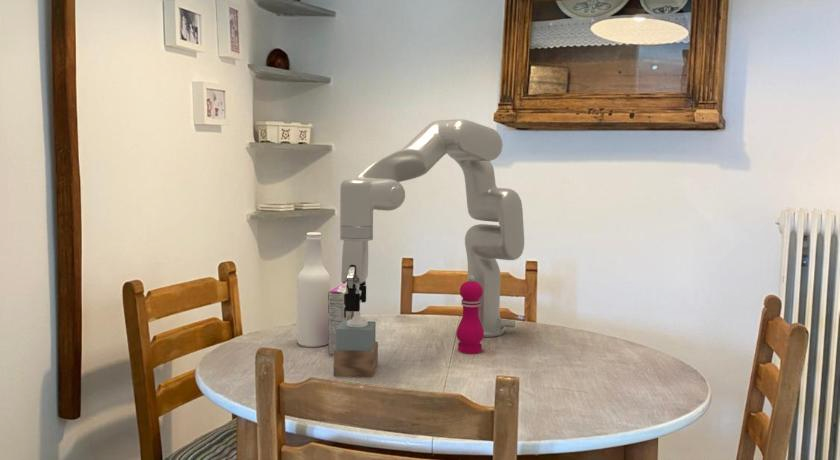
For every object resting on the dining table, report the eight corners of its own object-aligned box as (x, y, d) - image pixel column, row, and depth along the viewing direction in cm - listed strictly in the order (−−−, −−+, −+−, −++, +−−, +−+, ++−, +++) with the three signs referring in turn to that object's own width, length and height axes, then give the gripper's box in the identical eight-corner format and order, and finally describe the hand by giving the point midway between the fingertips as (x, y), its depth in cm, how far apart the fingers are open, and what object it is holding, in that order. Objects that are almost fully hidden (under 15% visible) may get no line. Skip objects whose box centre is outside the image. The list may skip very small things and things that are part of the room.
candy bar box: (341, 343, 175) (341, 283, 173) (358, 344, 174) (359, 284, 172) (327, 354, 164) (327, 291, 162) (345, 356, 163) (346, 292, 161)
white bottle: (309, 337, 180) (309, 230, 177) (336, 341, 176) (336, 232, 173) (290, 345, 172) (290, 233, 169) (318, 349, 168) (318, 235, 165)
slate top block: (375, 342, 155) (375, 321, 154) (371, 351, 147) (371, 330, 146) (342, 341, 155) (342, 320, 155) (336, 350, 147) (336, 329, 147)
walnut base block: (377, 365, 156) (377, 341, 155) (372, 378, 147) (373, 352, 146) (340, 364, 156) (340, 340, 155) (333, 376, 147) (333, 351, 147)
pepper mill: (487, 349, 171) (489, 274, 169) (478, 356, 165) (480, 278, 163) (461, 345, 174) (463, 272, 172) (451, 352, 168) (453, 276, 166)
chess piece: (371, 323, 152) (371, 281, 151) (362, 328, 147) (362, 285, 146) (352, 321, 154) (351, 280, 153) (343, 326, 149) (342, 283, 148)
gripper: (347, 229, 157) (346, 298, 159) (333, 236, 140) (332, 314, 141) (377, 230, 157) (376, 299, 158) (367, 237, 139) (366, 315, 141)
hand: (356, 306), depth 150 cm, fingers open, 9 cm apart
